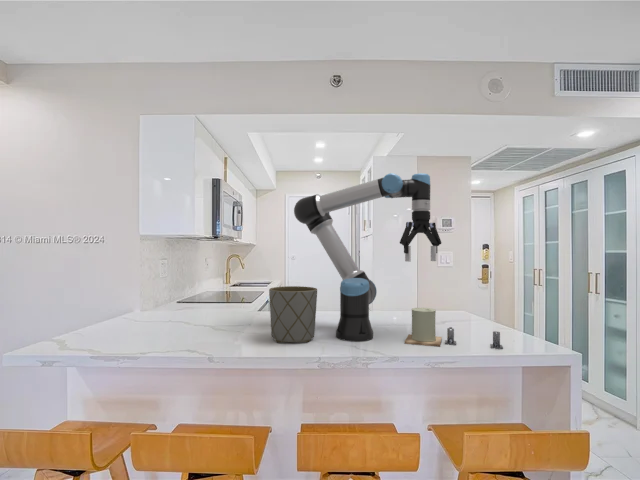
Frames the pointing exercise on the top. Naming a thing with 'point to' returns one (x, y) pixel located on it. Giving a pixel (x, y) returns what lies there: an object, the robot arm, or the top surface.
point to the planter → (293, 313)
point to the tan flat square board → (433, 343)
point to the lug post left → (450, 336)
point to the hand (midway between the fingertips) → (420, 261)
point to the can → (423, 324)
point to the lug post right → (496, 341)
